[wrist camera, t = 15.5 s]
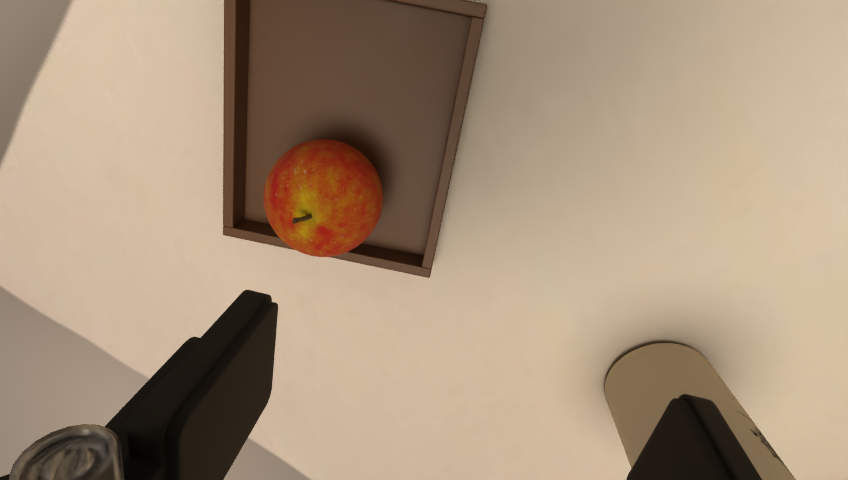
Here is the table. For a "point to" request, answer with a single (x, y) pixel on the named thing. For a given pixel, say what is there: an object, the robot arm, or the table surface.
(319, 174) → the fruit
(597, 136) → the table surface
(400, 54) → the tray
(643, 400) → the travel mug
